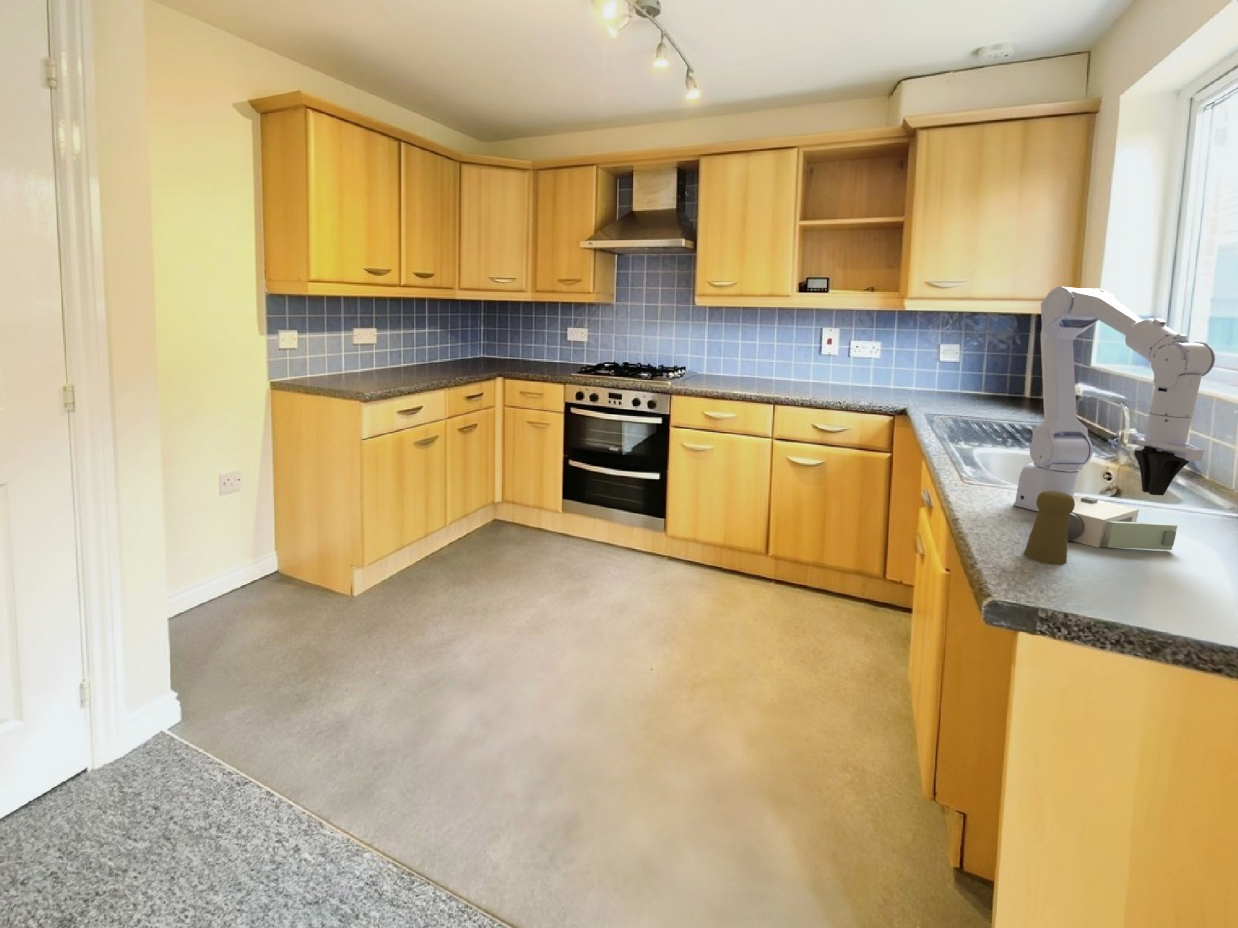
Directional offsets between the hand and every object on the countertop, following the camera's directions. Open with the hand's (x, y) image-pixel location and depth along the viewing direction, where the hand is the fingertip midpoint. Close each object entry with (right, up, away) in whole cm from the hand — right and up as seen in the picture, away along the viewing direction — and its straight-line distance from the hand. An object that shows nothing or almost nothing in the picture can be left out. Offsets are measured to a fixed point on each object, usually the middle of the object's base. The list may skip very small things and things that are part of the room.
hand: (1152, 493), depth 119 cm
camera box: (-7, -8, +8) cm, 13 cm away
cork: (-22, -10, -6) cm, 25 cm away
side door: (-3, -9, -1) cm, 10 cm away
